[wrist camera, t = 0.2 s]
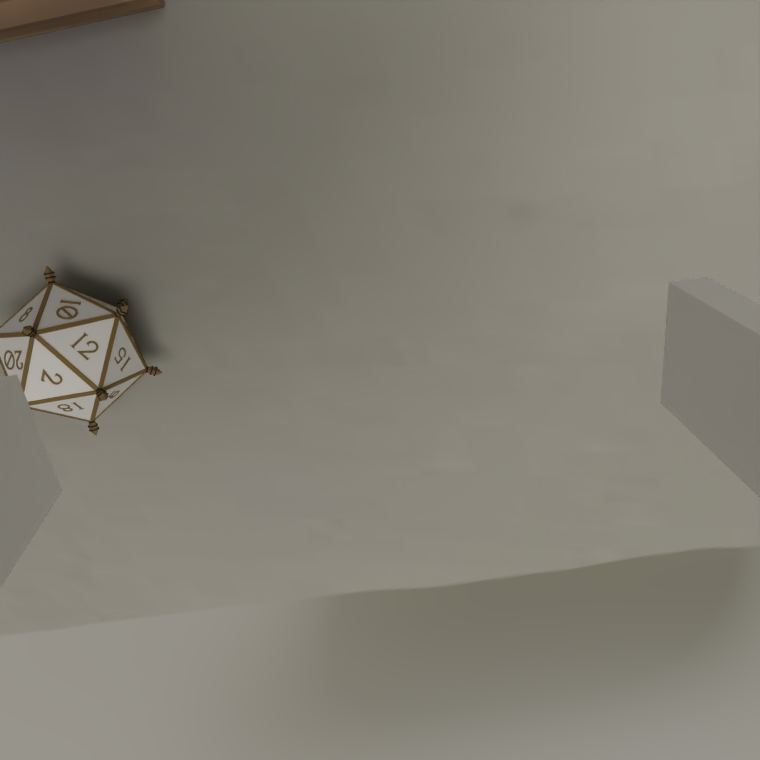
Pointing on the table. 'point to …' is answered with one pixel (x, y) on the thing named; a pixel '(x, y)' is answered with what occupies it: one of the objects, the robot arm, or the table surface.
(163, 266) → the table surface
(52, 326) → the game die
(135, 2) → the square tray
